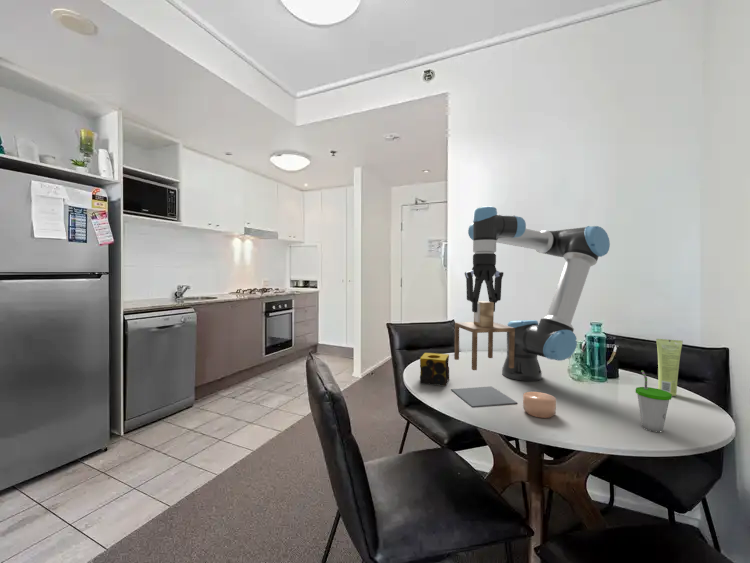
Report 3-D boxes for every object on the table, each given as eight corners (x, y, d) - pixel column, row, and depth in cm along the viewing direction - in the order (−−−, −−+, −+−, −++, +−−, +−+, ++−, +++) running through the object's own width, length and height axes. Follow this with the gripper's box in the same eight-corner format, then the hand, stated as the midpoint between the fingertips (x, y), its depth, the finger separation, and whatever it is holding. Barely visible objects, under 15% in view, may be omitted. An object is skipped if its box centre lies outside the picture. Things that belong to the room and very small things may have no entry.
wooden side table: (490, 357, 127) (491, 299, 126) (514, 368, 112) (515, 303, 112) (454, 359, 124) (455, 300, 123) (473, 370, 110) (474, 304, 109)
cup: (673, 438, 89) (675, 380, 89) (636, 430, 94) (637, 375, 93) (667, 426, 96) (669, 373, 96) (633, 420, 100) (634, 369, 100)
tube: (664, 390, 125) (666, 337, 125) (681, 395, 120) (682, 340, 120) (654, 392, 123) (656, 338, 123) (670, 397, 118) (672, 341, 118)
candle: (449, 378, 138) (449, 354, 138) (446, 386, 129) (446, 360, 128) (424, 376, 142) (424, 352, 141) (419, 383, 132) (419, 357, 132)
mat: (491, 387, 128) (491, 386, 128) (517, 403, 112) (517, 402, 112) (451, 390, 125) (451, 389, 125) (472, 407, 109) (472, 406, 109)
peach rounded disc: (542, 406, 110) (542, 390, 110) (562, 418, 101) (563, 401, 101) (516, 408, 108) (517, 392, 108) (535, 420, 99) (535, 403, 99)
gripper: (501, 254, 122) (499, 319, 123) (456, 253, 119) (455, 320, 120) (513, 253, 115) (512, 322, 116) (466, 252, 112) (465, 323, 112)
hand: (483, 321), depth 118 cm, fingers closed on wooden side table, 4 cm apart
